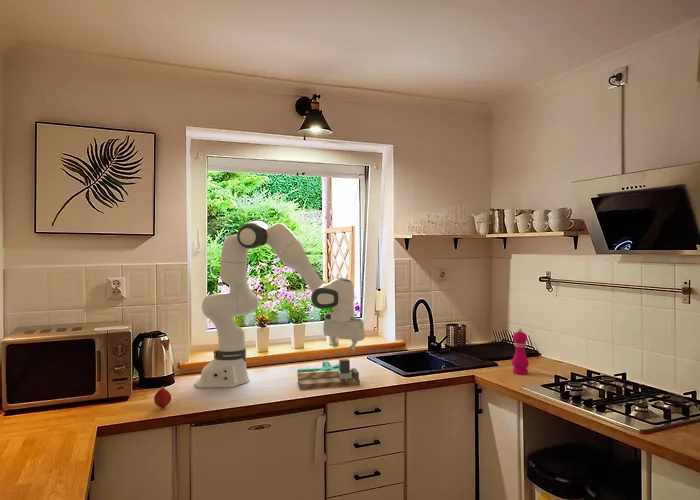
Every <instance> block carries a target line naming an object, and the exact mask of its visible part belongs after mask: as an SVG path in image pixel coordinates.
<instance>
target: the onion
mask: <svg viewBox="0 0 700 500" xmlns="http://www.w3.org/2000/svg"><path fill="white" fill-rule="evenodd" d="M165 388H166V387H165V386H161V388H160V389H158V391H157V392H156V393H155V394H154V396H153V397H154V398H153V401H154V404H155V405H156V406H157V407H158V408H160V409H165V408H166V407H167V406H168V405H169V404H170V403H171V401H172V395H171V393H170V392H169V390H167V389H165Z"/></svg>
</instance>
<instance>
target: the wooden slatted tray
mask: <svg viewBox="0 0 700 500" xmlns="http://www.w3.org/2000/svg"><path fill="white" fill-rule="evenodd" d="M350 372H351V373H352V376H353V379H343V380H340V379H339V377H338V370H330V371H315V372H299V373H298V374H297V384H298V387H299V389H300V390H308V389H309V390H310V389H325V388H338V387H352V386H353V387H355V386H360V385H361V380H360V373H359V371H358V369H356V368H355V367H353V368H351V367H350Z"/></svg>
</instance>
